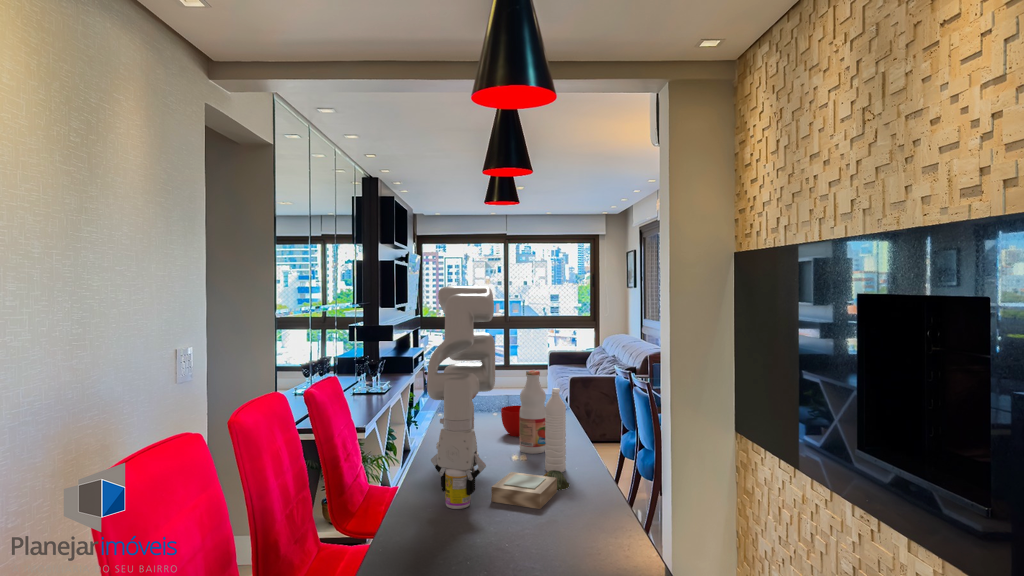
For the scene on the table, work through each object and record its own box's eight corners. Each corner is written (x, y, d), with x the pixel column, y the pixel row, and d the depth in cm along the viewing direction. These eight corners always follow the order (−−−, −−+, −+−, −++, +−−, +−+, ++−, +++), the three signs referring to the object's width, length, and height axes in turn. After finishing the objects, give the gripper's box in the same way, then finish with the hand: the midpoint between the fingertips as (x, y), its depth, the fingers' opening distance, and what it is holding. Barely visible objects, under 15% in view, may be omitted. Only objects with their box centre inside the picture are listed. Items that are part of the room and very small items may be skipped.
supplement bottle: (445, 501, 163) (445, 453, 163) (470, 500, 164) (470, 453, 164) (445, 510, 156) (445, 461, 156) (470, 509, 157) (470, 460, 157)
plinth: (491, 501, 163) (491, 485, 163) (511, 485, 176) (511, 470, 176) (540, 509, 158) (540, 492, 157) (557, 491, 170) (557, 476, 170)
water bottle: (565, 473, 187) (565, 393, 187) (544, 472, 188) (544, 392, 187) (566, 465, 196) (566, 388, 195) (546, 464, 196) (546, 387, 196)
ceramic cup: (545, 431, 241) (545, 406, 241) (523, 440, 226) (523, 413, 226) (517, 427, 248) (517, 402, 248) (494, 435, 233) (494, 409, 233)
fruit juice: (520, 446, 218) (520, 369, 217) (546, 447, 217) (546, 369, 217) (518, 454, 208) (518, 373, 208) (546, 454, 208) (546, 373, 207)
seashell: (532, 474, 174) (542, 464, 183) (531, 488, 174) (541, 478, 183) (566, 481, 170) (575, 470, 180) (565, 495, 170) (573, 484, 180)
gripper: (422, 424, 160) (422, 492, 160) (481, 430, 153) (481, 501, 153) (436, 418, 167) (436, 483, 167) (493, 424, 160) (493, 491, 160)
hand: (458, 491), depth 160 cm, fingers closed on supplement bottle, 6 cm apart
